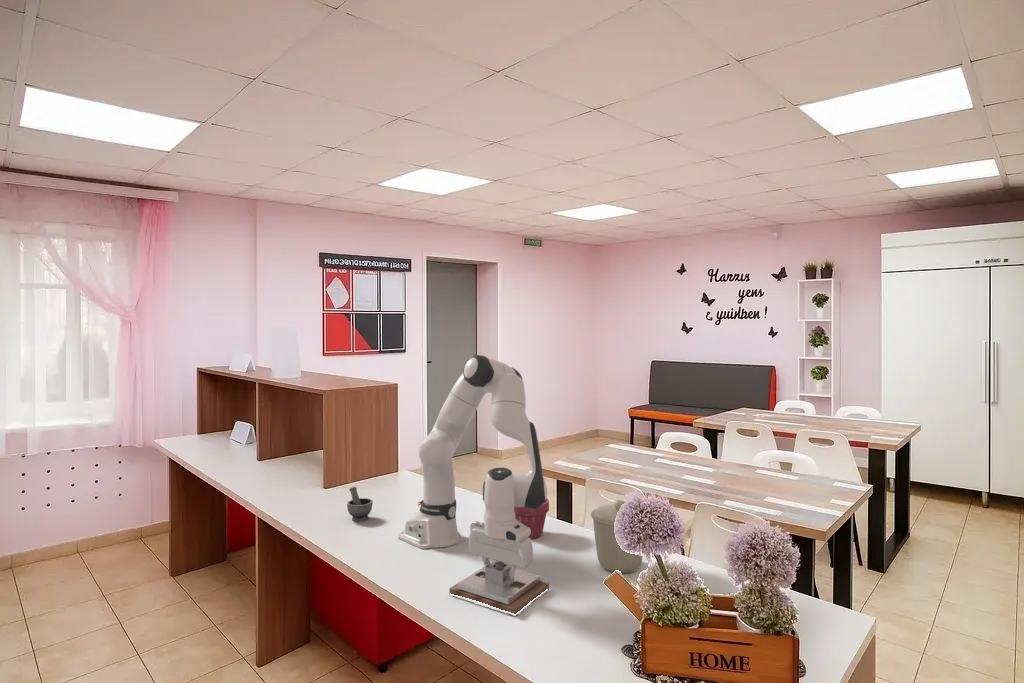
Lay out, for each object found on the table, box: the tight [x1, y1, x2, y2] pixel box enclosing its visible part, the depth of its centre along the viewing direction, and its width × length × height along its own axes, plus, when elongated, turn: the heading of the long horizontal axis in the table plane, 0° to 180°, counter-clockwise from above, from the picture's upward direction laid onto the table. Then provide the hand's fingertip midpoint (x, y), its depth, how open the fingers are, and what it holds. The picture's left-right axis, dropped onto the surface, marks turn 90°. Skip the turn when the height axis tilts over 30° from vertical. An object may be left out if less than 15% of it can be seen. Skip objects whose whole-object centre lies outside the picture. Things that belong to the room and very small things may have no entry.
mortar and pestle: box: [346, 486, 373, 523], centre depth 224 cm, size 11×9×12 cm
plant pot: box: [514, 497, 550, 540], centre depth 207 cm, size 14×14×13 cm
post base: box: [449, 561, 550, 614], centre depth 162 cm, size 22×18×8 cm
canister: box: [590, 499, 644, 574], centre depth 180 cm, size 18×18×21 cm
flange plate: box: [457, 560, 542, 605], centre depth 162 cm, size 17×17×6 cm
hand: (499, 574), depth 162 cm, fingers closed on flange plate, 6 cm apart
